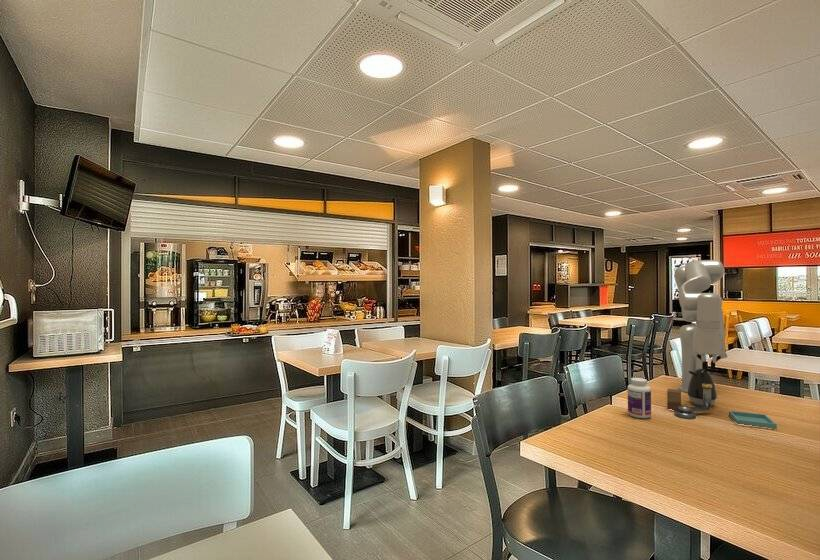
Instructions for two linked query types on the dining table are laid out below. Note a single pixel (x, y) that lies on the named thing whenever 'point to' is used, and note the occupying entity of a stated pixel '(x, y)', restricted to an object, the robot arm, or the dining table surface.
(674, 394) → the block
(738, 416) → the tray
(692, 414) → the crank base
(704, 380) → the black tapered rounded piece
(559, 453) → the dining table surface
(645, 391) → the pill bottle
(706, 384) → the crank
